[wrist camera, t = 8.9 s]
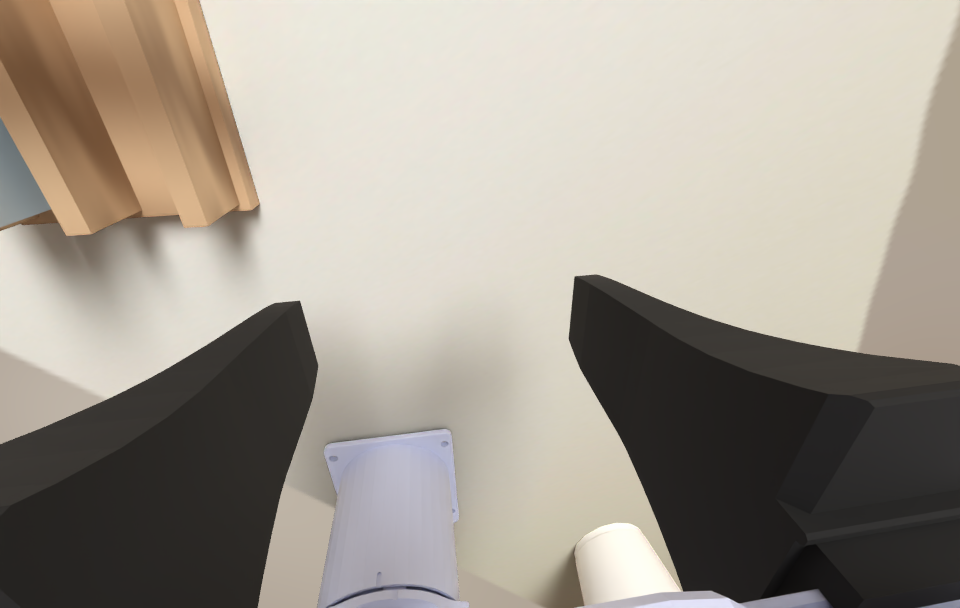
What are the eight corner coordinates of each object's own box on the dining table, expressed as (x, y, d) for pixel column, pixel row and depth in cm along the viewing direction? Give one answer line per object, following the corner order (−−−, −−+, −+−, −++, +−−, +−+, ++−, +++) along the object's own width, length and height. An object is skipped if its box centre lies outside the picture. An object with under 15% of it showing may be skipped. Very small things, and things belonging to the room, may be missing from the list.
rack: (259, 203, 18) (222, 233, 15) (42, 217, 17) (-53, 252, 14) (180, -61, 14) (101, -108, 10) (-119, -62, 13) (-318, -114, 9)
